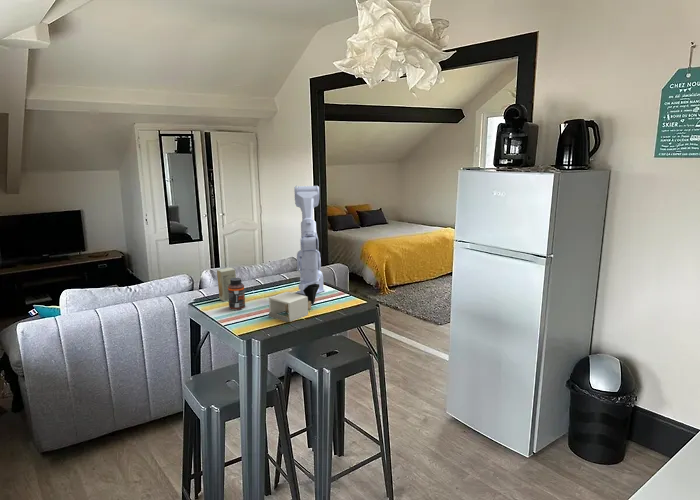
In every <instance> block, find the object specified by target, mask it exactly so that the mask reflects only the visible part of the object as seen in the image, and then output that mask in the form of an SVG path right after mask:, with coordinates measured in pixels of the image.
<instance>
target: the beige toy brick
mask: <svg viewBox="0 0 700 500" xmlns="http://www.w3.org/2000/svg"><path fill="white" fill-rule="evenodd" d="M285 310H286V311H285V313H286V314H288V315H289V310H288V304H286V305H285ZM310 310H312V304H311V301H308V311H310Z"/></svg>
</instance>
